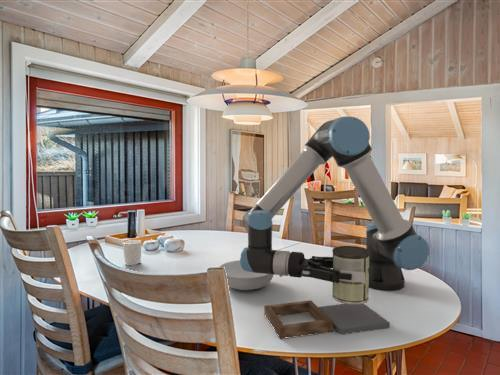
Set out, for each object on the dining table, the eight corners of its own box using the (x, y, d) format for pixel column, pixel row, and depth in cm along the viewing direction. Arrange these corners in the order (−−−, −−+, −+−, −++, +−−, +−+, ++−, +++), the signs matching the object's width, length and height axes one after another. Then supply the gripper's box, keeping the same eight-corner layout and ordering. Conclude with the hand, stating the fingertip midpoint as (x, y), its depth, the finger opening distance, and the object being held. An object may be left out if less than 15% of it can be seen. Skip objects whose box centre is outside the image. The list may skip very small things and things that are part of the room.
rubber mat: (360, 306, 116) (360, 301, 116) (389, 327, 102) (389, 322, 102) (316, 311, 113) (316, 307, 113) (339, 334, 98) (339, 329, 98)
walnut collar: (311, 309, 115) (310, 300, 114) (332, 331, 100) (332, 321, 100) (264, 315, 111) (264, 305, 111) (280, 339, 97) (280, 328, 96)
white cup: (136, 266, 163) (135, 244, 162) (120, 265, 165) (119, 243, 164) (145, 261, 171) (144, 240, 170) (129, 260, 172) (128, 239, 171)
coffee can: (328, 291, 112) (328, 245, 111) (361, 290, 112) (362, 245, 111) (337, 305, 102) (337, 255, 100) (374, 304, 102) (375, 254, 101)
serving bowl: (212, 295, 128) (211, 276, 127) (224, 276, 148) (224, 259, 148) (272, 297, 125) (272, 277, 124) (276, 277, 146) (276, 260, 145)
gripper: (298, 265, 124) (368, 272, 115) (279, 288, 103) (362, 299, 94) (298, 243, 123) (369, 249, 115) (279, 261, 102) (363, 270, 94)
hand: (366, 271), depth 105 cm, fingers closed on coffee can, 10 cm apart
